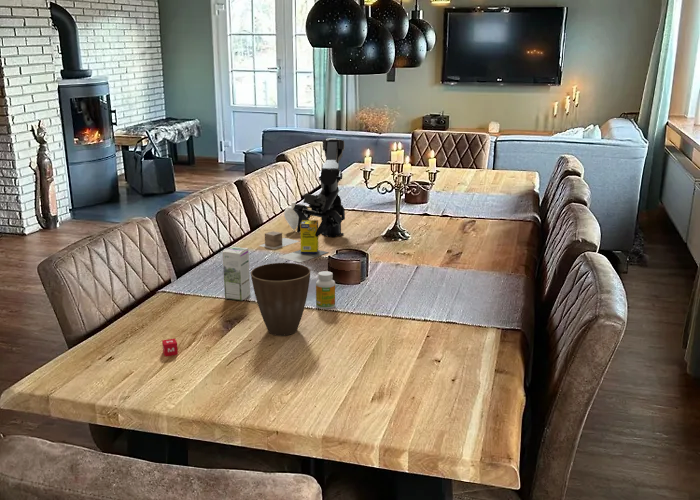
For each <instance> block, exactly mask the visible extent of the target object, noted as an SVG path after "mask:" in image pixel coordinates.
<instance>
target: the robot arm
mask: <svg viewBox="0 0 700 500" xmlns="http://www.w3.org/2000/svg"><path fill="white" fill-rule="evenodd" d="M323 151H324V157H325V162H324V163H323V164H322V165H321V169H320V170H319V175H318V181H319V182H320V186H321V190H320V192H319V193H318V194H316V195H315V194H309V193H305V195H304V199H303V203H304V204H301V203H296V205H295V207H294V208H293V210H294V211H295V212H296V213H297V215H298V217H299V220H298V226H297V228H296V229H297V230H296V232H297V233H298V234H301V233H300V224H301V222H302V220H310V217H312V216H313V217H318V218H321V221H320V223H319V224H318V229H317V231H316V234H315V236H316V237H318V238H319V236H320V235H322V236H326V237H329V238H335V237H339V236H343V235H344V236H345V233H343V232H342V222H343V221H345V219H346V211H345V210H346V209H345V207H344V205H343V204H342V199H341V197H340V195H339V192H340V190H339V183H340V182H341V180H343V173H342V170H341V169H340V164H339V162H340V160H341V159H342V157H343V153H344V151H345V140H344V139H343V140H342V139H341V138H338V137H337V138H335V137H333V138H331V137H329V138H326V139H324V140H322V152H323ZM305 204H307V205H308V206H307V205H305ZM308 207H309V208H311V209H309V208H308Z"/></svg>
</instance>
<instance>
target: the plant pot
mask: <svg viewBox="0 0 700 500" xmlns="http://www.w3.org/2000/svg"><path fill="white" fill-rule="evenodd" d="M250 277H251V283H252V287H253V291H254V295H255V299H256V302H257V306H258V309H259V313H260V315H261V317H262V320H263V323H264V325H265V327H266V330H267V331H268V333H269V334H271V335H273V336H277V337H284V336H285V337H286V336H291V335H293V334H295V333H296V332H297V331H298V328H299V326H300V323H301V320H302V317H303V315H304V314H303V313H304V312H305V311H304V310H305V307H306V303H307V297H308V293H309V288H310V281H311V269H310V268H309V266H306V265H303V264H300V263H296V262H295V263H294V262H293V263H292V262H276V263H275V262H274V263H267V264H262V265H259V266H257V267H255V268H252V270H251V271H250Z"/></svg>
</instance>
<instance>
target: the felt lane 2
mask: <svg viewBox="0 0 700 500" xmlns="http://www.w3.org/2000/svg"><path fill="white" fill-rule="evenodd" d="M328 253H329V252H328V251H325V250H321V249H320V250H319V249H318V252H317V254H301V249H299V250H295V251H292V252H290V253H286V254H283V255H280V256H278V258H280V259H284V260H289V261H293V262H295V263H297V264H300V263H304V262H306V261H309V260H311V259H315V258H318V257H320V256H323V255H326V254H328Z"/></svg>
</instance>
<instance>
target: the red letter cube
mask: <svg viewBox="0 0 700 500" xmlns="http://www.w3.org/2000/svg"><path fill="white" fill-rule="evenodd" d="M161 341H162V352H163V355H164V357H171V356H177V355H179V352H178V351H179V350H178V349H179V348H178V342H177V340H176V338H170V339H163V340H161Z"/></svg>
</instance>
